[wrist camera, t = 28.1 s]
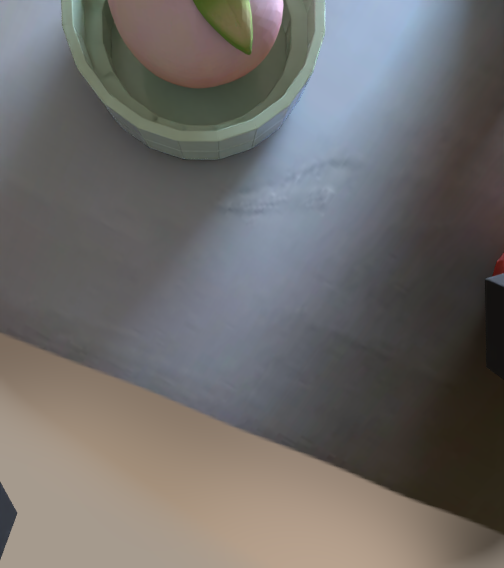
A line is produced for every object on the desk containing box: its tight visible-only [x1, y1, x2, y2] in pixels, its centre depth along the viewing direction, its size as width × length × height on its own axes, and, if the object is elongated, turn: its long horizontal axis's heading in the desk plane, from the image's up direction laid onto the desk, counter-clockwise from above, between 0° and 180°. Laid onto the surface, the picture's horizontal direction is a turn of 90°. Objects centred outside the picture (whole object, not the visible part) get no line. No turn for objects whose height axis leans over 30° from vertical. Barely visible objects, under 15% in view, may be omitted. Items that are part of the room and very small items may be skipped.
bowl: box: [61, 0, 325, 160], centre depth 26 cm, size 14×14×5 cm
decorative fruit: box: [108, 0, 283, 88], centre depth 23 cm, size 9×8×10 cm
